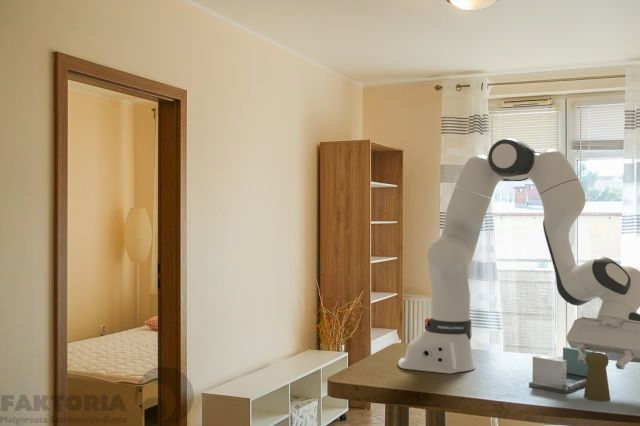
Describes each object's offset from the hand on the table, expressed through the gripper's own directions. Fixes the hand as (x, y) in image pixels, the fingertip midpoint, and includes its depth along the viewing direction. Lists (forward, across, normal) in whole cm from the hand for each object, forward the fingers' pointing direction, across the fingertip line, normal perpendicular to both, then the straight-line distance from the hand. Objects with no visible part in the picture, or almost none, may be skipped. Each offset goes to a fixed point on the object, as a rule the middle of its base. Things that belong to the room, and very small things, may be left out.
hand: (599, 364), depth 164 cm
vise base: (+1, -12, +10) cm, 16 cm away
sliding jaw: (-6, -12, +15) cm, 20 cm away
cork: (+7, 0, +5) cm, 8 cm away
